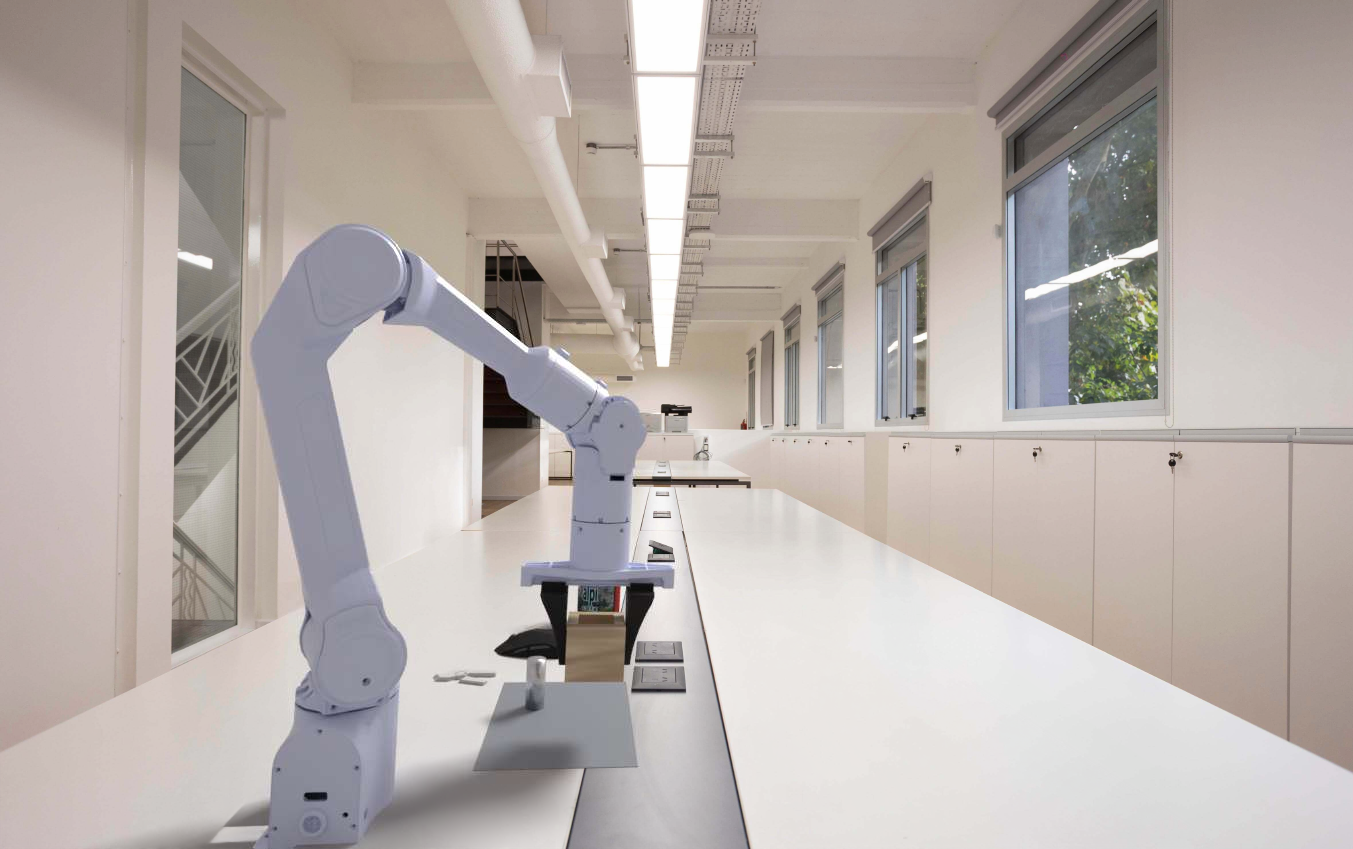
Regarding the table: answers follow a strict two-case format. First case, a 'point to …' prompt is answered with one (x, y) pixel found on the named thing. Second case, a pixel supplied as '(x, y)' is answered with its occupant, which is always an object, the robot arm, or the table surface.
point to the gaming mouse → (530, 644)
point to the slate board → (560, 729)
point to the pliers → (466, 676)
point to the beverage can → (598, 599)
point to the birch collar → (595, 647)
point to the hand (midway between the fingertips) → (594, 661)
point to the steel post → (535, 683)
